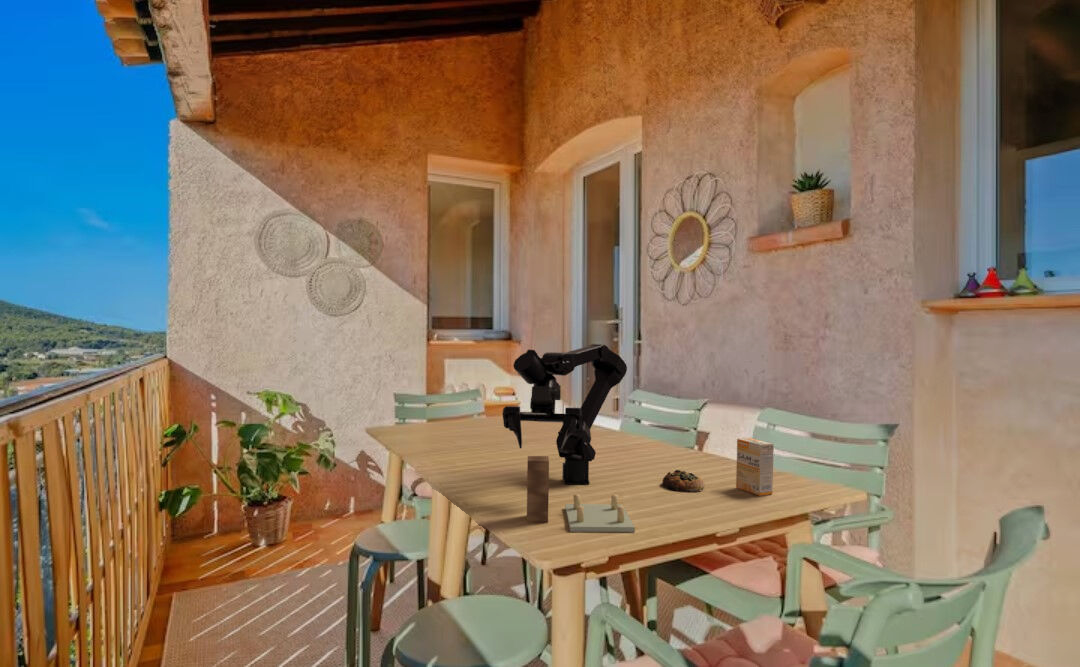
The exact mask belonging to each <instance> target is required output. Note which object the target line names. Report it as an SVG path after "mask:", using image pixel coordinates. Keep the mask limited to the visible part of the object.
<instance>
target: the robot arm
mask: <svg viewBox="0 0 1080 667" xmlns="http://www.w3.org/2000/svg"><path fill="white" fill-rule="evenodd" d="M588 363H591V366H592V367H593V368H594V371H593V372H594V382H593V383H592V386H591V387H590V389H589V391H588V393H587V395H586V397H585V399H584V401H583V403H582V405H581V406H580V407H567V406H566V407H565V410H564V412H565V413H557V412H556V401H560V400H561V396H562V394H561V393H562V392H561V391H562V389H561V388H562V387H561V386H562V385H560V383H558V381H557V378H556V376H563V377H564V376H567V375H569V374H571V373H572V372H573V371H575V368H577V367H579V366H581V365H584V364H588ZM513 369H514V371H515V372H517V374H518V375H519V376H520V377H521V378H522V379H523V380H524V381H525V382H526V383H527V384H528V385H533V386H531V397H530V401H529V402H530V403H529V409H530V410H531V411H521V406H520V405H519V406H518V405H505V406H504V407H503V408H502V421H503V427H504V428H505V429H508V430H509V431H510V432H513V433H514V435H515V437H516V439H517V440H516V441H517V444H518V447H519V449H522V448H523V434H522V422H539V423H558V424H559V423H560V424H561V423H562V426H561V428H560V429H559V431H558V432H557V434H558V435H557V438H556V441H555V443H556V448H557V452H558V457H559V458H564V462H563V463H562V470H561V472H562V474H561V476H562V480H563V481H564V484H566V485H590V484H591V483H590V480H589V477H590V474H589V472H590V471H589V470H590V469H589V466H590V463H589V462H592V461H594V460H595V457H596V450H595V448H594V447H593V446H592V445H591V441H592V435H591V428H592V427H593V424H594V422H595V421H596V418H597V417H598V414H599V412H600V411H601V408H602V407H603V404H604V403H605V400H606V399H607V397H608V394H609V393H610V391H611V389H612V388H613V387H614V388H615V386H617V385H619V384H620V383H621V381H622V380H623V379H624V377H625V376H626V374H627V371H628V365H627V363H625V361H624V360H623V359H622V357H621V356H620V355H618V354H617V353H615V352H614V351H612V350H610V348H609V347H608V346H607V345H605V344H600V343H599V344H595V343H594V344H593V343H592V344H590V345H588V346H584V347H581V348H578V349H574V350H569V351H566V352H558V351H557V352H556V351H555V352H550V351H549V352H545V353H543V355H542V357H541V356H539V355H538V353H537V351H536V350H535V349H527V350H526V352H525V353H522V354H520V355H519V357H517V358H516V359H515V360H514V363H513Z"/></svg>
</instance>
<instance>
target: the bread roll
mask: <svg viewBox="0 0 1080 667" xmlns="http://www.w3.org/2000/svg"><path fill="white" fill-rule="evenodd" d="M662 484H663V487H664V488H666V489H667V490H671V491H678V492H685V493H686V492H687V493H688V492H693V493H696V492H701V491H700V490H702V491H704V490H705V489H704V488H705V486H706V485H705V482H704V479H702V478H701V477H700V476H696V474H694V473H692V472H687V471H686V470H681V469H680V470H679V469H676V470H674V471H673V472H671V471H669V472H668V473H666V475H665V476H663V478H662ZM703 489H704V490H703Z"/></svg>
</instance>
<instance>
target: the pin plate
mask: <svg viewBox="0 0 1080 667" xmlns="http://www.w3.org/2000/svg"><path fill="white" fill-rule="evenodd" d="M610 499H611V501H610V502H611V504H610V503H608V504H606V503H603V504H601V503H600V504H599V503H598V504H597V503H595V504H593V503H592V504H591V503H589V504H588V503H586V504H585V503H584V504H582V503H581V494H578V493H576V494H575V493H574V494H573V503H565V506H564V507H565V509H564V510H565V512H566V513H565V514H566V517H567V518H566V519H567V523H568V527H569V532H571V533H574V532H575V533H577V532H578V533H579V532H581V533H590V532H591V533H635V531H636V530H635V529H636V527H635V525H634V523H633V522H632V520H631V518H630V516H629V514H628V512H627V510H626V509H625V506H624V505H623V504H619V495H618V494H611V498H610Z"/></svg>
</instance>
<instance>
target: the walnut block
mask: <svg viewBox="0 0 1080 667" xmlns="http://www.w3.org/2000/svg"><path fill="white" fill-rule="evenodd" d="M526 479H527V482H526V523H527V524H528V523H530V524H531V523H532V524H533V523H537V524H541V523H542V524H549V490H550V488H549V486H550V485H549V482H550V459H549V455H548V456H546V455H527V476H526Z"/></svg>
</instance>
